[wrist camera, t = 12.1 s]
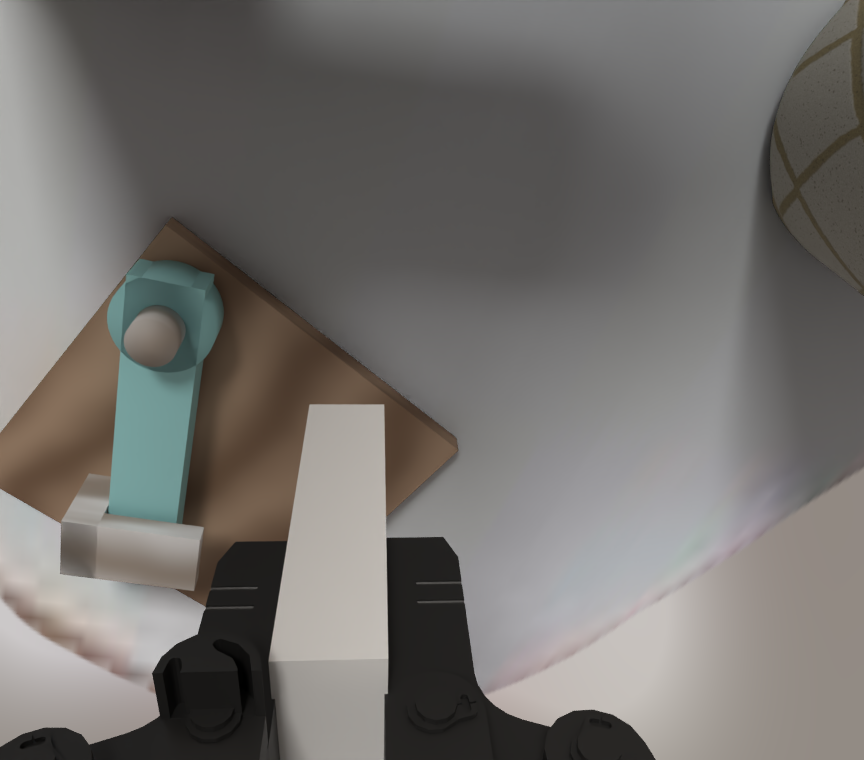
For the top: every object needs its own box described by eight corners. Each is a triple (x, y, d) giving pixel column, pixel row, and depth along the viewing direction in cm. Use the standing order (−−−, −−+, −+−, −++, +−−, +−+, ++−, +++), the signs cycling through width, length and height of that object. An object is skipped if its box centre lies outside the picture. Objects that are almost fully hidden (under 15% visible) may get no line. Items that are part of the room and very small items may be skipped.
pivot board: (-19, 457, 49) (-75, 524, 43) (172, 217, 43) (138, 256, 37) (260, 620, 57) (246, 696, 51) (456, 437, 50) (467, 499, 44)
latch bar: (124, 250, 41) (110, 265, 39) (229, 272, 42) (221, 288, 40) (103, 536, 50) (90, 562, 48) (191, 549, 51) (182, 575, 49)
